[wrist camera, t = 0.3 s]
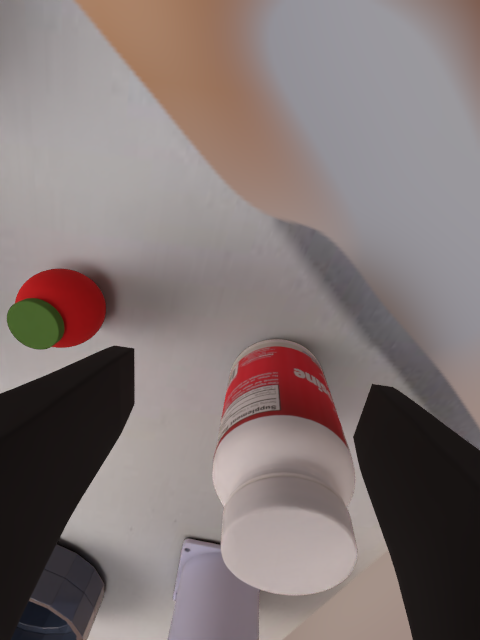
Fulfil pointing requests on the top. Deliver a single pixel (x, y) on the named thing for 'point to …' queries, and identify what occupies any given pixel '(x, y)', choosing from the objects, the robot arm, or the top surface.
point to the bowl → (62, 600)
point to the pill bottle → (284, 474)
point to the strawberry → (57, 310)
